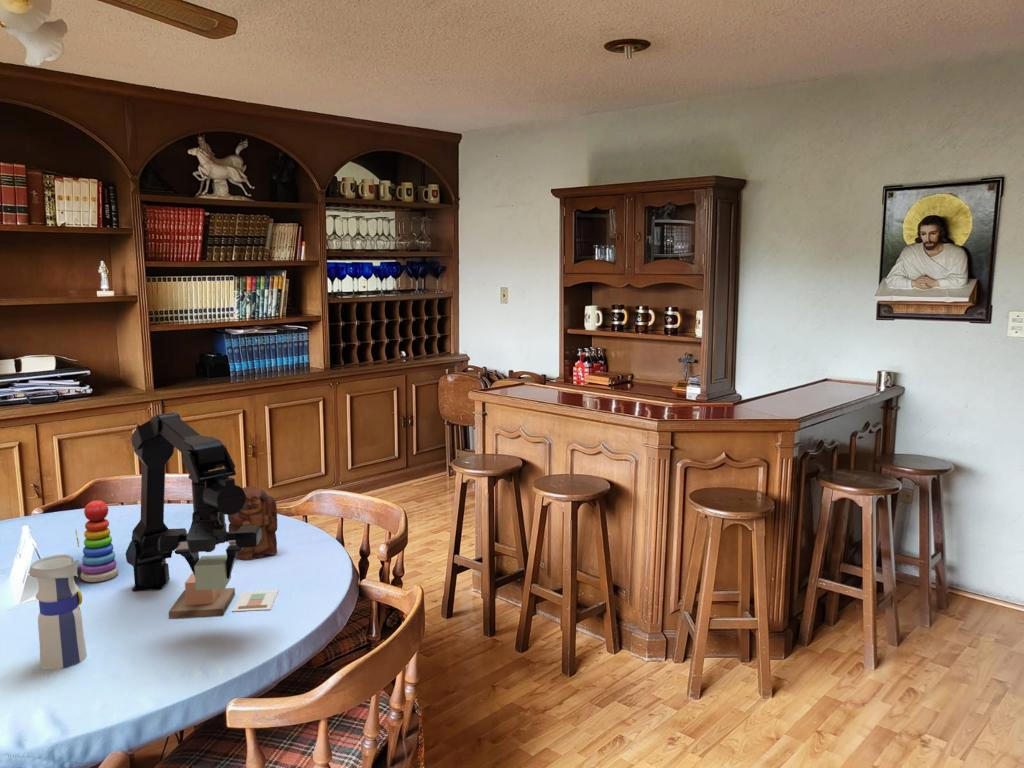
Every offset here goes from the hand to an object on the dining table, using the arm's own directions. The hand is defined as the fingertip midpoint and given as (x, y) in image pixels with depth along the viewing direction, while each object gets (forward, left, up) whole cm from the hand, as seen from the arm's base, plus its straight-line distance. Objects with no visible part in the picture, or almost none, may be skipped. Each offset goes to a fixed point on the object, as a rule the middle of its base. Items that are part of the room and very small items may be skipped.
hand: (213, 578), depth 158 cm
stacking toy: (-35, +33, -12) cm, 50 cm away
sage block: (0, 0, -1) cm, 1 cm away
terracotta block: (-6, +13, -10) cm, 17 cm away
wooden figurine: (-1, +43, -12) cm, 45 cm away
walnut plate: (-6, +13, -11) cm, 18 cm away
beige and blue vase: (-26, -8, -12) cm, 30 cm away
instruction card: (+5, +14, -11) cm, 19 cm away
